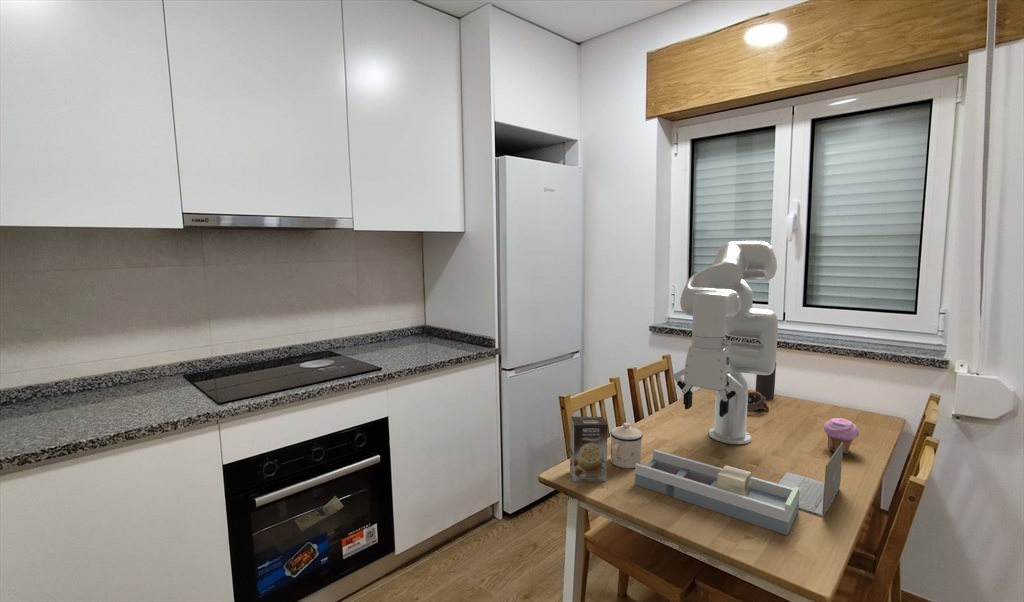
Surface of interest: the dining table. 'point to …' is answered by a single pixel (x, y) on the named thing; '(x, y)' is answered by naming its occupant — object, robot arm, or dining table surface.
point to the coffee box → (588, 449)
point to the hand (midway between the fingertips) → (705, 411)
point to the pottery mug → (756, 401)
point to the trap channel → (719, 491)
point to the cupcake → (840, 433)
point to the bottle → (766, 385)
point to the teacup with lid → (626, 446)
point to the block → (734, 480)
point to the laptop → (817, 486)
